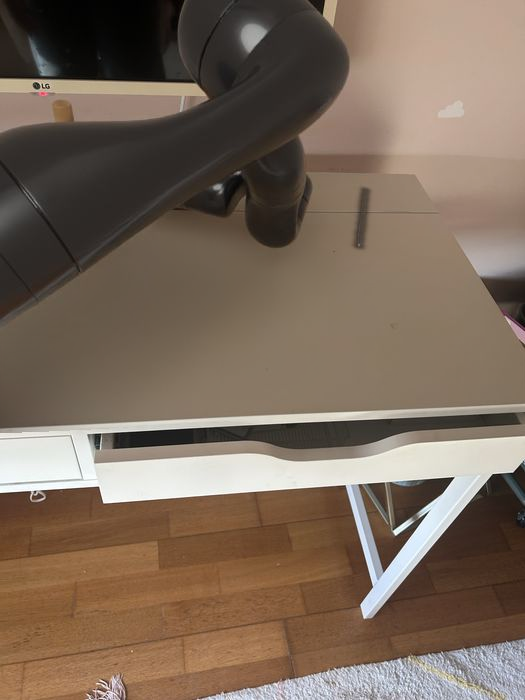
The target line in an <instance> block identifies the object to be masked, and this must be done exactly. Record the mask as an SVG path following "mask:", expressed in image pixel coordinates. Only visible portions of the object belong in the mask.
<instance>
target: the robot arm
mask: <svg viewBox="0 0 525 700" xmlns="http://www.w3.org/2000/svg"><path fill="white" fill-rule="evenodd" d="M177 45H178V46H177V47H178V51H179V55H180V57H181V60H182V63H183V65H184V67H185V68H186V71H187V73H189V75H190V77H191V78H192V80H193V81H194V82H195V84H196V85H197V86H198V88H199V89H200V90H201V91H202V92H203V93H204V94H205V96H206V97H207V100H204V101H202V102H200V103H198V104H196V105H194V106H192V107H190V108H187V109H184V110H182V111H179V112H176V113H173V114H168V115H165V116H160V117H155V118H147V119H134V120H84V121H83V120H82V121H81V120H80V121H78V120H77V121H76V120H74V121H70V122H55V121H54V122H53V121H51V122H42V123H34V124H26V125H21V126H17V127H13V128H10V129H6V130H4V131H2V132H0V329H1V328H2V327H4V326H5V325H7V324H9V323H11V322H12V321H13V320H15V319H16V318H19V317H20V316H21V315H23V314H25V313H26V312H28V311H30V310H31V309H32V308H34V307H36V306H37V305H39V303H41V302H43V301H44V300H46V299H47V298H49V297H50V296H52V295H54V294H55V293H56V292H57V291H59V290H61V288H63V287H65V286H66V285H68V284H69V283H70V282H72V281H73V280H75V279H77V278H78V277H79V276H80V275H82V274H84V273H85V272H86V271H88V270H89V269H91V268H92V267H93V266H95V265H96V264H97V263H99V262H100V261H101V260H103V259H104V258H105V257H106V256H108V255H110V254H111V253H112V252H113V251H115V250H116V249H117V248H119V247H120V246H122V245H123V244H124V243H126V242H127V241H128V240H130V239H131V238H133V237H134V236H136V235H137V234H139V233H140V232H141V231H143V230H145V229H146V228H148V227H149V226H150V225H152V224H153V223H155V222H156V221H157V220H159V219H160V218H162V217H163V216H165V215H166V214H167V213H169V212H171V211H172V210H174V209H182V210H183V209H184V210H189V211H192V212H196V213H200V214H204V215H208V216H210V217H214V218H218V219H226V218H229V216H231V215H232V214H233V213H234V212H235V210H236V208H237V206H238V205H239V204H240V202H241V200H242V199H243V198H244V197H245V202H244V203H245V205H244V225H245V228H246V230H247V232H248V233H249V235H250V236H251V237H252V239H254V240H255V241H256V242H257V243H259V244H260V245H262V246H264V247H266V248H271V249H281V248H285V247H286V248H287V247H288V246H290V245H292V244H293V243H294V242H295V241H296V240H297V238H298V236H299V235H300V232H301V228H302V226H303V225H302V224H303V222H304V219H305V216H306V212H307V209H308V206H309V203H310V201H311V197H312V193H313V188H314V187H313V182H312V178H311V177H310V176H309V174H307V158H306V157H307V156H306V152H305V148H304V144H303V141H302V138H301V136H300V135H301V134H303V133H305V131H306V130H307V129H309V128H310V127H311V126H312V125H313V124H315V123H316V122H317V121H318V120H319V119H320V118H321V117H323V115H324V114H325V113H326V112H327V111H328V110H329V109H330V108H331V107H332V106H333V104H334V103H335V102H336V101H337V100H338V98H339V96H340V94H341V93H342V91H343V90H344V88H345V86H346V84H347V81H348V78H349V74H350V70H351V56H350V52H349V49H348V47H347V45H346V43H345V42H344V40H343V38H342V36H340V34H339V33H338V32H337V30H336V29H335V28H334V27H333V25H332V24H331V23H330V22H329V21H328V19H327V18H326V17H325V16H324V15H322V14H321V12H320V11H319V10H317V8H316V7H315V6H314V5H313V4H312V3H311V2H310V1H309V0H184V2H183V4H182V7H181V11H180V12H179V19H178V24H177Z"/></svg>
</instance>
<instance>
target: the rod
mask: <svg viewBox="0 0 525 700" xmlns="http://www.w3.org/2000/svg"><path fill="white" fill-rule="evenodd" d="M367 196H368V188H364V189H363V192H362V201H361V209H360V216H359V217H360V218H359V225H358V232H357V240H356V247H357V248H361V247H362V239H363V233H364V231H363V230H364V223H365V213H366V205H367V198H368V197H367Z"/></svg>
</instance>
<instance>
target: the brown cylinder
mask: <svg viewBox="0 0 525 700" xmlns="http://www.w3.org/2000/svg"><path fill="white" fill-rule="evenodd" d="M51 107H52V112H53V117H54V122H70V121H75V118H74V112H73V106H72V102H71V101H69V100H67V99H56V100H54V101H52V103H51Z"/></svg>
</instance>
